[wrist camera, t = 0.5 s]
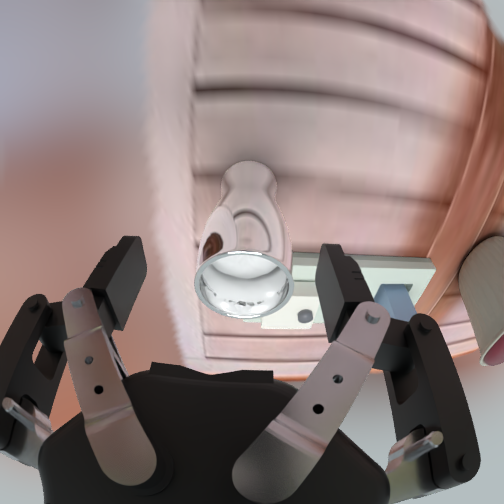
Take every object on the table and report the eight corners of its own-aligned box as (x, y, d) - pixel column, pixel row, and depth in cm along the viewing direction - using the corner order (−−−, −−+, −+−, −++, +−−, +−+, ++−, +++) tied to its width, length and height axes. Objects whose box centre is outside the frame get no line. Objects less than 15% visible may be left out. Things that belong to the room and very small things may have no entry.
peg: (381, 281, 37) (406, 350, 28) (402, 281, 37) (430, 346, 28) (372, 299, 40) (392, 365, 31) (393, 298, 40) (415, 362, 31)
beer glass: (205, 195, 30) (175, 298, 19) (237, 144, 26) (221, 229, 15) (258, 222, 32) (259, 331, 21) (293, 177, 29) (319, 278, 17)
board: (246, 250, 35) (245, 263, 33) (429, 258, 36) (436, 269, 34) (243, 309, 43) (243, 321, 41) (400, 308, 43) (405, 319, 41)
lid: (264, 280, 35) (265, 300, 32) (318, 282, 35) (323, 301, 32) (261, 314, 39) (261, 333, 37) (308, 315, 39) (311, 333, 37)
